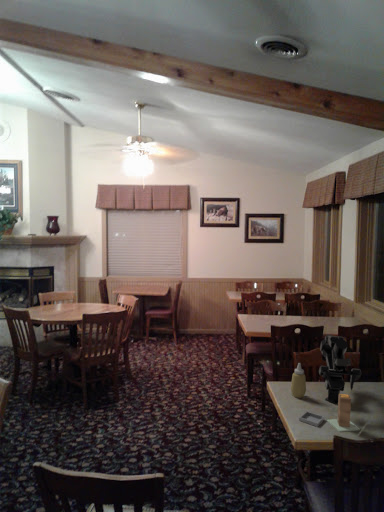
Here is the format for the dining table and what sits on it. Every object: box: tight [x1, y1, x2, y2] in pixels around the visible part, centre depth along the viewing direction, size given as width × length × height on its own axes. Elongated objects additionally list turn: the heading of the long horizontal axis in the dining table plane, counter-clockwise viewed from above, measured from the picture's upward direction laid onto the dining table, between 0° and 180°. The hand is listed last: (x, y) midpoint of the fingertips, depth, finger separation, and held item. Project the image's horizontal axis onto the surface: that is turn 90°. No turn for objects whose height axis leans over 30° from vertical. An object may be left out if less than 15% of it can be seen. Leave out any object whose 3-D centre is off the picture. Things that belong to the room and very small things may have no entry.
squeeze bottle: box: [290, 362, 307, 399], centre depth 206 cm, size 8×8×18 cm
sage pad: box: [326, 418, 361, 433], centre depth 175 cm, size 10×10×1 cm
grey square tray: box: [298, 410, 325, 428], centre depth 179 cm, size 9×9×2 cm
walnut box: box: [336, 393, 352, 427], centre depth 174 cm, size 4×4×13 cm
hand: (341, 389), depth 183 cm, fingers open, 9 cm apart
